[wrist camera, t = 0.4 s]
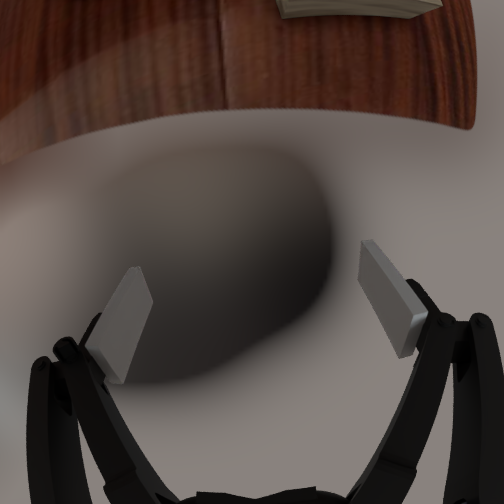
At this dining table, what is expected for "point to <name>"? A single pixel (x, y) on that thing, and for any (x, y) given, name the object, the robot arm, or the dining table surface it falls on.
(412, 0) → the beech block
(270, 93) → the dining table surface
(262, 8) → the dining table surface
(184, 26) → the dining table surface
